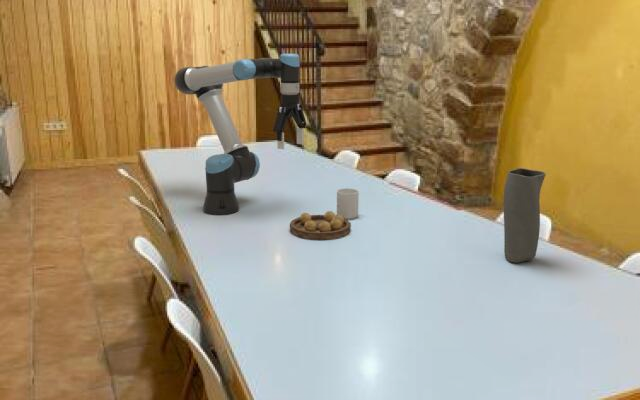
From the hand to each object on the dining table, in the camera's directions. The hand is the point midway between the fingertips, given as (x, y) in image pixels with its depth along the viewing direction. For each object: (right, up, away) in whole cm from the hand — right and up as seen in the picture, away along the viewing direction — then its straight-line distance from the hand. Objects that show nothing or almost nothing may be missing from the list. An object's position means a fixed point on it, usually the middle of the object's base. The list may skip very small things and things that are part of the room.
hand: (290, 146), depth 239 cm
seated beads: (+15, -33, -15) cm, 39 cm away
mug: (+23, -29, +5) cm, 37 cm away
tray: (+12, -34, -13) cm, 38 cm away
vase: (+79, -42, -42) cm, 98 cm away
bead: (+6, -31, -10) cm, 34 cm away
